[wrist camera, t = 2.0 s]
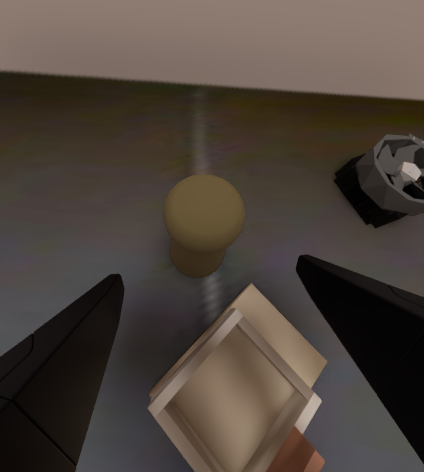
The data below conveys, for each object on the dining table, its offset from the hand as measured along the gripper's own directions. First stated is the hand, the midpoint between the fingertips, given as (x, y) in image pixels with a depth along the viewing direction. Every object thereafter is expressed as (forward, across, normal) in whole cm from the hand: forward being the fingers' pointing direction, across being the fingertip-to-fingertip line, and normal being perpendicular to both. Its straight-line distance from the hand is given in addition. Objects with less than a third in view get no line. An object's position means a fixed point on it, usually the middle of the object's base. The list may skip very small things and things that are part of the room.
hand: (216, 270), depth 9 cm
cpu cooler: (+15, -26, +1) cm, 30 cm away
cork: (+11, 0, +5) cm, 12 cm away
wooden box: (+2, -3, +14) cm, 14 cm away
